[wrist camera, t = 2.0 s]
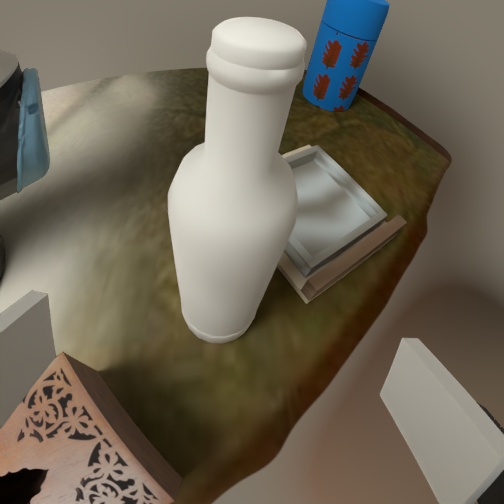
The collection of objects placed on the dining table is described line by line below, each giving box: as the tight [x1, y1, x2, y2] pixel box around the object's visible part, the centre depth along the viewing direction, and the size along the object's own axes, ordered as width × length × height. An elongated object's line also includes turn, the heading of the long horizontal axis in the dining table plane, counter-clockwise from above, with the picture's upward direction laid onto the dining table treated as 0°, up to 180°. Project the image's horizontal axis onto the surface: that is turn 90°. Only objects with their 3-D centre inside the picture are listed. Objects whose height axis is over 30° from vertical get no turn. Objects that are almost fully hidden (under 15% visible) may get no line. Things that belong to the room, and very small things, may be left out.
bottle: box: [168, 17, 307, 344], centre depth 23 cm, size 8×8×30 cm
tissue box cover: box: [0, 352, 183, 504], centre depth 19 cm, size 26×14×10 cm, turn 132°
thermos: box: [303, 0, 389, 112], centre depth 50 cm, size 11×11×25 cm
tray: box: [277, 145, 407, 304], centre depth 43 cm, size 20×18×4 cm
